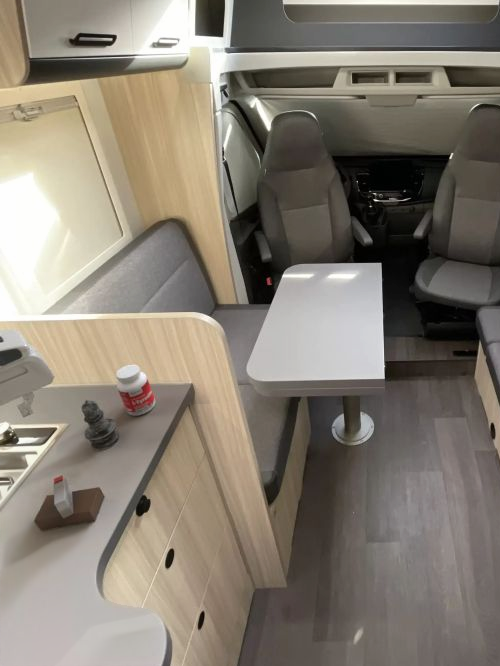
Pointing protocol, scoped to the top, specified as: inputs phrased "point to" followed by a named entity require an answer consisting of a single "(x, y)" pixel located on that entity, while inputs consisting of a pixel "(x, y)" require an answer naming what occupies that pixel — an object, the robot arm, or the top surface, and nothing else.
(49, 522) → the brown block
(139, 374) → the pill bottle
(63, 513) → the grey rectangular block
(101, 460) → the top surface
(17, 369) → the robot arm
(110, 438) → the dark chess piece
